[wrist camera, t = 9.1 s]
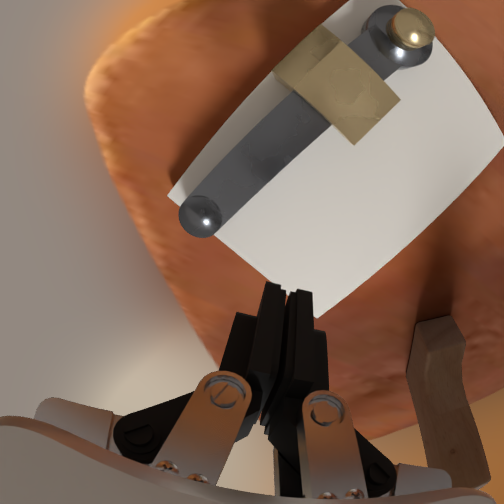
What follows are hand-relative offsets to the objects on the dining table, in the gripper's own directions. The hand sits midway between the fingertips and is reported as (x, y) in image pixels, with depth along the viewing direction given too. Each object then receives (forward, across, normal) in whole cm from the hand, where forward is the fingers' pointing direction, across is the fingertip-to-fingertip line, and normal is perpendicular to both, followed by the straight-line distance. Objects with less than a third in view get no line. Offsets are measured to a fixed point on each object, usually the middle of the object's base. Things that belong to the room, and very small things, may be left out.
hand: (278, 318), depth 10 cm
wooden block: (+13, -19, +12) cm, 26 cm away
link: (+11, +1, -7) cm, 13 cm away
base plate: (+13, -4, -5) cm, 15 cm away
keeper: (+12, -2, -11) cm, 16 cm away
